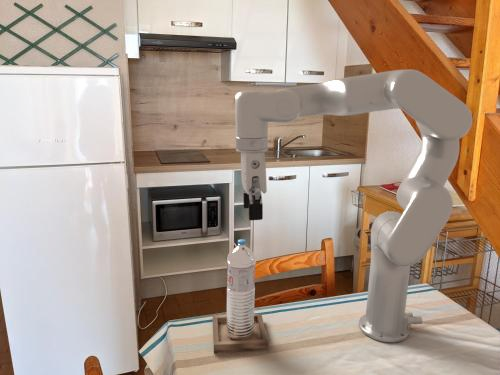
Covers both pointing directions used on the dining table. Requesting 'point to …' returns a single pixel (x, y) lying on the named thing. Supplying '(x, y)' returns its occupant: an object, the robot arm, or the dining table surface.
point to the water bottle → (240, 292)
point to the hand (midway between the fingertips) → (252, 213)
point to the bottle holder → (230, 345)
